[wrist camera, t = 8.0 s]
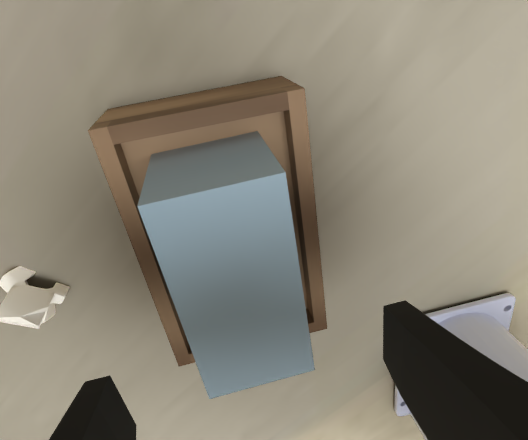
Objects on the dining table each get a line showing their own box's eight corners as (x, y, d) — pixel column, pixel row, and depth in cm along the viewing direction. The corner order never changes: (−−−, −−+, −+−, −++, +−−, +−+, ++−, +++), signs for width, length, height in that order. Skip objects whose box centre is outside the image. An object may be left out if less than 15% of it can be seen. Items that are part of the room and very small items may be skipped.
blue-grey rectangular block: (286, 294, 18) (314, 369, 14) (204, 315, 18) (209, 399, 14) (257, 131, 14) (285, 172, 10) (151, 154, 14) (137, 206, 10)
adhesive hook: (74, 272, 19) (56, 315, 16) (63, 311, 19) (43, 358, 17) (6, 256, 18) (-27, 299, 15) (-4, 298, 18) (-36, 346, 16)
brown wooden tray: (306, 284, 21) (327, 328, 18) (180, 315, 20) (179, 366, 17) (281, 76, 16) (304, 88, 13) (107, 108, 15) (87, 130, 12)
